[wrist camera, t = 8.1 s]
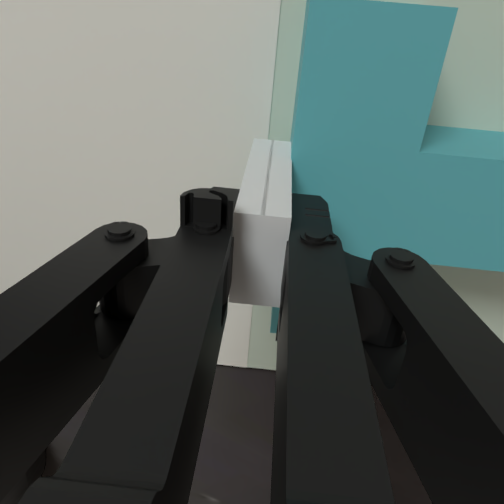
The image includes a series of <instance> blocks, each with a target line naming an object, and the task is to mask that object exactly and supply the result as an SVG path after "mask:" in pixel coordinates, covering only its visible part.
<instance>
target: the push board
mask: <svg viewBox="0 0 504 504" xmlns="http://www.w3.org/2000/svg"><path fill="white" fill-rule="evenodd" d="M372 1H384V2H396V3H408V4H420V5H432V6H444V7H456V8H458V11H457V15H456V19H455V22H454V26H453V30H452V34H451V37H450V41H449V45H448V48H447V52H446V56H445V59H444V63H443V67H442V71H441V74H440V78H439V82H438V85H437V89H436V93H435V96H434V100H433V104H432V107H431V111H430V115H429V119H428V122H427V125H435V126H445V127H456V128H467V129H478V130H488V131H499V132H504V0H372ZM306 2H307V0H0V294H1V293H3V292H4V291H6V290H7V289H8V288H10V287H11V286H13V285H14V284H16V283H17V282H19V281H20V280H22V279H23V278H25V277H26V276H28V275H29V274H30V273H32V272H33V271H35V270H36V269H38V268H39V267H41V266H42V265H44V264H45V263H47V262H48V261H50V260H51V259H52V258H54V257H55V256H57V255H58V254H60V253H61V252H63V251H64V250H66V249H67V248H69V247H70V246H72V245H73V244H74V243H76V242H77V241H79V240H80V239H82V238H83V237H85V236H86V235H88V234H89V233H91V232H92V231H93V230H95V229H97V228H99V227H101V226H103V225H106V224H110V223H113V222H118V221H119V222H121V221H126V222H129V223H136V224H138V225H141V226H143V227H144V228H145V229H146V230H147V233H148V239H159V238H168V237H172V236H175V235H176V233H177V231H178V229H179V227H180V195H181V194H182V193H183V192H185V191H188V190H191V189H197V188H212V187H223V188H234V189H240V188H241V184H242V180H243V177H244V173H245V169H246V166H247V162H248V158H249V155H250V151H251V148H252V144H253V140H254V138H257V139H267V140H278V141H288V142H290V138H291V130H292V121H293V113H294V104H295V96H296V87H297V78H298V70H299V61H300V53H301V44H302V36H303V27H304V19H305V10H306ZM430 266H431V267H432V268H433V269H434V270H435V271H436V272H437V273H438V274H439V275H440V276H441V277H442V278H443V279H444V280H445V281H446V283H447V284H448V285H449V286H450V287H451V288H452V289H453V290H454V291H455V292H456V293H457V294H458V295H459V296H460V297H461V298H462V299H463V301H464V302H465V303H466V304H467V305H468V306H469V307H470V308H471V309H472V310H473V311H474V312H475V313H476V314H477V315H478V316H479V317H480V319H481V320H482V321H483V322H484V323H485V324H486V325H487V326H488V327H489V328H490V329H491V330H492V331H493V332H494V333H495V334H496V336H497V337H498V338H499V339H500V340H501V341H502V342H503V343H504V272H499V271H489V270H480V269H470V268H460V267H451V266H441V265H432V264H430ZM98 305H99V302H98V304H97V306H98ZM97 306H96V307H97ZM271 312H272V307H269V306H259V305H250V304H241V303H231V302H229V297H228V310H227V317H226V322H225V327H224V332H223V337H222V341H221V346H220V351H219V356H218V361H217V364H220V365H228V366H237V367H245V368H247V367H251V368H260V369H268V370H276V359H277V341H275V340H276V333H270V326H271Z"/></svg>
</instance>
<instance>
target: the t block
mask: <svg viewBox="0 0 504 504" xmlns="http://www.w3.org/2000/svg"><path fill="white" fill-rule="evenodd" d="M457 11H458V8H456V7H444V6H432V5H420V4H408V3H396V2H384V1H372V0H307V2H306V10H305V19H304V27H303V36H302V44H301V53H300V61H299V70H298V78H297V87H296V96H295V104H294V113H293V121H292V130H291V138H290V142H291V160H292V193H297V194H307V195H317V196H321V197H322V198H323V199H324V200H325V201H326V202H327V203H328V207H329V212H330V218H331V224H332V230H333V233H334V234H335V235H337V236H338V237H339V238H340V240H341V242H342V247H343V250H344V251H345V252H347V253H349V254H351V255H354V256H357V257H360V258H364V259H368V260H371V257H372V255H373V252H374V251H376V250H378V249H380V248H387V247H391V248H396V247H398V248H403V249H407V250H410V251H411V252H413V253H415V254H417V255H419V256H420V257H422V258H423V259H424V260H426V261H427V262H428V263H429V264H432V265H441V266H451V267H460V268H470V269H480V270H489V271H499V272H504V132H499V131H488V130H478V129H467V128H456V127H445V126H435V125H427V122H428V119H429V115H430V111H431V107H432V104H433V100H434V96H435V93H436V89H437V85H438V82H439V78H440V74H441V71H442V67H443V63H444V59H445V56H446V52H447V48H448V45H449V41H450V37H451V34H452V30H453V26H454V22H455V19H456V15H457ZM279 309H280V308H278V307H272V312H271V326H270V333H276V332H277V324H278V316H279Z"/></svg>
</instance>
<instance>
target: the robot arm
mask: <svg viewBox="0 0 504 504" xmlns="http://www.w3.org/2000/svg"><path fill="white" fill-rule="evenodd" d="M228 297H229V302H231V303H241V304H250V305H259V306H269V307H278V308H280V309H279V316H278V324H277V332H276V340H275V341H277V359H276V383H275V407H274V431H273V454H272V478H271V502H270V504H395V501H394V496H393V491H392V486H391V481H390V477H389V472H388V467H387V462H386V457H385V452H384V447H383V442H382V437H381V433H380V428H379V423H378V418H377V413H376V408H375V403H374V398H373V393H372V389H371V384H372V386H373V388H374V390H375V392H376V394H377V396H378V398H379V400H380V402H381V404H382V406H383V407H384V409H385V411H386V413H387V415H388V417H389V419H390V421H391V423H392V425H393V427H394V429H395V431H396V433H397V435H398V437H399V439H400V441H401V443H402V445H403V447H404V448H405V450H406V452H407V454H408V456H409V458H410V460H411V462H412V464H413V466H414V468H415V470H416V472H417V474H418V476H419V478H420V480H421V482H422V484H423V486H424V488H425V489H426V491H427V493H428V495H429V497H430V499H431V501H432V503H433V504H504V343H503V342H502V341H501V340H500V339H499V338H498V337H497V336H496V334H495V333H494V332H493V331H492V330H491V329H490V328H489V327H488V326H487V325H486V324H485V323H484V322H483V321H482V320H481V319H480V317H479V316H478V315H477V314H476V313H475V312H474V311H473V310H472V309H471V308H470V307H469V306H468V305H467V304H466V303H465V302H464V301H463V299H462V298H461V297H460V296H459V295H458V294H457V293H456V292H455V291H454V290H453V289H452V288H451V287H450V286H449V285H448V284H447V283H446V281H445V280H444V279H443V278H442V277H441V276H440V275H439V274H438V273H437V272H436V271H435V270H434V269H433V268H432V267H431V266H430V264H429V263H428V262H427V261H426V260H424V259H423V258H422V257H420V256H419V255H417V254H415V253H413V252H411V251H410V250H407V249H403V248H398V247H396V248H391V247H387V248H380V249H378V250H376V251H374V252H373V255H372V257H371V260H368V259H364V258H360V257H357V256H354V255H351V254H349V253H347V252H345V251H344V250H343V247H342V242H341V240H340V238H339V237H338V236H337V235H335V234H334V233H333V230H332V224H331V218H330V212H329V207H328V203H327V202H326V201H325V200H324V199H323V198H322V197H321V196H317V195H307V194H297V193H292V160H291V142H288V141H278V140H267V139H257V138H254V140H253V144H252V148H251V151H250V155H249V158H248V162H247V166H246V169H245V173H244V177H243V180H242V184H241V188H240V189H234V188H223V187H212V188H197V189H191V190H188V191H185V192H183V193H182V194H181V195H180V227H179V229H178V231H177V233H176V235H175V236H172V237H168V238H159V239H148V233H147V230H146V229H145V228H144V227H143V226H141V225H138V224H136V223H129V222H126V221H121V222H119V221H118V222H113V223H110V224H106V225H103V226H101V227H99V228H97V229H95V230H93V231H92V232H91V233H89V234H88V235H86V236H85V237H83V238H82V239H80V240H79V241H77V242H76V243H74V244H73V245H72V246H70V247H69V248H67V249H66V250H64V251H63V252H61V253H60V254H58V255H57V256H55V257H54V258H52V259H51V260H50V261H48V262H47V263H45V264H44V265H42V266H41V267H39V268H38V269H36V270H35V271H33V272H32V273H30V274H29V275H28V276H26V277H25V278H23V279H22V280H20V281H19V282H17V283H16V284H14V285H13V286H11V287H10V288H8V289H7V290H6V291H4V292H3V293H1V294H0V504H188V500H189V495H190V490H191V485H192V480H193V476H194V471H195V466H196V461H197V456H198V452H199V447H200V442H201V437H202V433H203V428H204V423H205V418H206V413H207V409H208V404H209V399H210V394H211V389H212V385H213V380H214V375H215V370H216V365H217V361H218V356H219V351H220V346H221V341H222V337H223V332H224V327H225V322H226V317H227V310H228ZM98 302H99V305H98V306H97V304H98ZM96 306H97V307H96ZM370 382H371V384H370ZM101 383H102V384H101ZM100 384H101V386H100V388H99V390H98V392H97V394H96V396H95V398H94V400H93V402H92V404H91V406H90V408H89V410H88V412H87V414H86V416H85V418H84V421H83V423H82V425H81V427H80V429H79V431H78V433H77V435H76V437H75V439H74V441H73V443H72V445H71V447H70V449H69V451H68V453H67V455H66V457H65V459H64V461H63V463H62V464H61V466H60V468H59V469H58V471H57V472H56V473H55V474H54V475H53V476H52V477H41V475H42V473H43V471H44V468H45V462H46V455H45V449H46V448H47V447H48V445H49V444H50V443H51V442H52V441H53V440H54V438H55V437H56V436H57V435H58V434H59V432H60V431H61V430H62V429H63V428H64V427H65V425H66V424H67V423H68V422H69V421H70V419H71V418H72V417H73V416H74V415H75V414H76V412H77V411H78V410H79V409H80V408H81V406H82V405H83V404H84V403H85V402H86V401H87V399H88V398H89V397H90V396H91V395H92V393H93V392H94V391H95V390H96V389H97V388H98V386H99V385H100Z"/></svg>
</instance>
